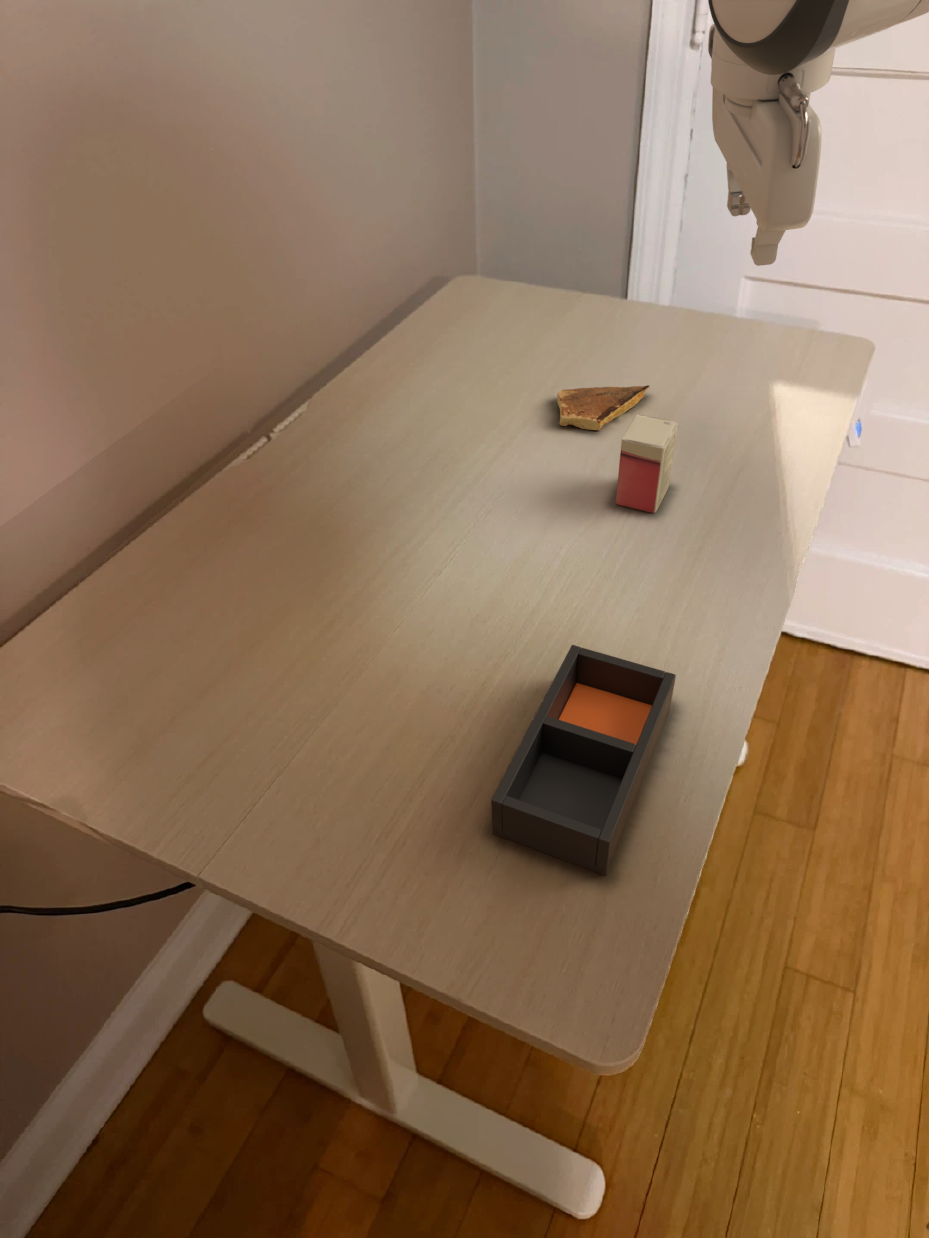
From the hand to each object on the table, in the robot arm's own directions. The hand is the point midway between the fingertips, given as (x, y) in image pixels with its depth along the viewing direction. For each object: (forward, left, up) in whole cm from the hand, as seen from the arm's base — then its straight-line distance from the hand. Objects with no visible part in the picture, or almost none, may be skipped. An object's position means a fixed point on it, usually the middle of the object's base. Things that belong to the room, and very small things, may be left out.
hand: (749, 236), depth 77 cm
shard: (+17, -1, -24) cm, 30 cm away
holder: (-16, +39, -24) cm, 48 cm away
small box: (+2, +9, -24) cm, 26 cm away
